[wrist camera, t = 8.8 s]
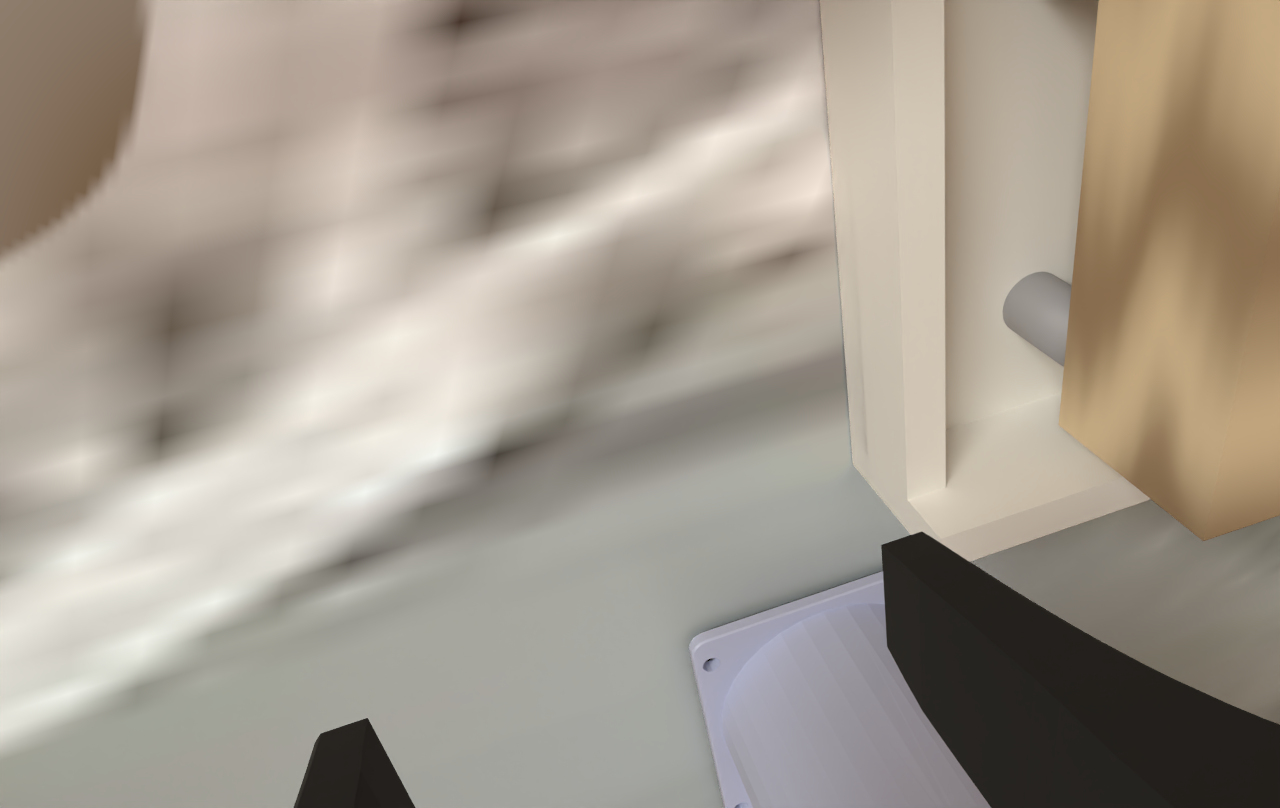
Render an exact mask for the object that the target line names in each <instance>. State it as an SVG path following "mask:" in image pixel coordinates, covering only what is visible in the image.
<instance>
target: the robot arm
mask: <svg viewBox="0 0 1280 808" xmlns="http://www.w3.org/2000/svg"><path fill="white" fill-rule="evenodd" d="M882 563H883V571H881V572H878V573H875V574H873V575H870V576H867V577H864V578H861V579H858V580H855V581H852V582H849V583H846V584H843V585H840V586H837V587H834V588H831V589H828V590H826V591H823V592H820V593H817V594H814V595H811V596H808V597H805V598H802V599H799V600H796V601H793V602H790V603H787V604H784V605H781V606H779V607H776V608H773V609H770V610H767V611H764V612H761V613H758V614H755V615H752V616H749V617H746V618H743V619H740V620H737V621H734V622H732V623H729V624H726V625H723V626H720V627H717V628H714V629H711V630H708V631H705V632H702V633H700V634H698V635H697V636H695V637H694V638H693V639H692V640H691V642H690V644H689V653H690V658H691V662H692V666H693V671H694V675H695V680H696V684H697V689H698V693H699V698H700V702H701V707H702V711H703V716H704V720H705V724H706V729H707V733H708V738H709V742H710V747H711V751H712V756H713V760H714V765H715V769H716V773H717V778H718V782H719V787H720V791H721V796H722V800H723V805H724V808H1280V725H1279V724H1276V723H1274V722H1271V721H1268V720H1266V719H1263V718H1261V717H1258V716H1256V715H1254V714H1251V713H1249V712H1246V711H1244V710H1241V709H1239V708H1237V707H1234V706H1232V705H1230V704H1227V703H1225V702H1223V701H1221V700H1218V699H1216V698H1214V697H1212V696H1210V695H1207V694H1205V693H1203V692H1201V691H1199V690H1196V689H1194V688H1192V687H1190V686H1188V685H1185V684H1183V683H1181V682H1179V681H1177V680H1175V679H1172V678H1170V677H1168V676H1166V675H1164V674H1162V673H1160V672H1158V671H1156V670H1154V669H1152V668H1150V667H1148V666H1146V665H1144V664H1142V663H1140V662H1138V661H1137V660H1135V659H1133V658H1131V657H1129V656H1127V655H1125V654H1123V653H1122V652H1120V651H1118V650H1116V649H1114V648H1112V647H1110V646H1108V645H1107V644H1105V643H1103V642H1101V641H1099V640H1097V639H1096V638H1094V637H1092V636H1090V635H1089V634H1087V633H1085V632H1083V631H1081V630H1080V629H1078V628H1076V627H1074V626H1073V625H1071V624H1069V623H1068V622H1066V621H1064V620H1063V619H1061V618H1059V617H1058V616H1056V615H1054V614H1052V613H1051V612H1049V611H1047V610H1046V609H1044V608H1042V607H1041V606H1039V605H1037V604H1036V603H1034V602H1032V601H1031V600H1029V599H1027V598H1026V597H1024V596H1022V595H1021V594H1019V593H1018V592H1016V591H1014V590H1013V589H1011V588H1010V587H1008V586H1006V585H1005V584H1003V583H1002V582H1000V581H999V580H997V579H995V578H994V577H992V576H991V575H989V574H988V573H986V572H984V571H983V570H981V569H980V568H978V567H977V566H975V565H974V564H972V563H971V562H969V561H967V560H966V559H964V558H963V557H961V556H960V555H958V554H957V553H955V552H954V551H952V550H951V549H949V548H948V547H946V546H945V545H943V544H941V543H940V542H938V541H937V540H935V539H934V538H932V537H931V536H929V535H927V534H925V533H924V532H919V533H916V534H913V535H910V536H907V537H904V538H901V539H898V540H895V541H892V542H889V543H886V544H883V545H882ZM711 658H713V659H711ZM709 659H711V660H710V661H707V660H709ZM294 808H415V806H414V804H413V803H412V801H411V799H410V797H409V795H408V793H407V791H406V789H405V787H404V786H403V784H402V782H401V780H400V778H399V776H398V774H397V772H396V771H395V769H394V767H393V765H392V763H391V761H390V759H389V757H388V756H387V754H386V752H385V750H384V748H383V746H382V744H381V742H380V741H379V739H378V737H377V735H376V733H375V731H374V729H373V727H372V725H371V724H370V722H369V720H368V718H366V719H363V720H360V721H357V722H354V723H351V724H348V725H345V726H342V727H339V728H336V729H333V730H330V731H327V732H324V733H321V734H320V736H319V737H318V739H317V740H316V742H315V745H314V748H313V751H312V754H311V757H310V760H309V764H308V767H307V770H306V773H305V776H304V779H303V782H302V785H301V788H300V791H299V794H298V797H297V800H296V803H295V805H294Z"/></svg>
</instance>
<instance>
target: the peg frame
mask: <svg viewBox="0 0 1280 808" xmlns="http://www.w3.org/2000/svg"><path fill="white" fill-rule="evenodd" d="M819 1H820V15H821V29H822V43H823V56H824V70H825V84H826V98H827V112H828V126H829V140H830V154H831V168H832V182H833V196H834V210H835V224H836V237H837V251H838V265H839V279H840V293H841V307H842V321H843V335H844V349H845V363H846V377H847V391H848V405H849V418H850V432H851V446H852V460H853V465H854V467H855V468H856V469H857V470H858V471H859V473H860V474H861V475H862V476H863V477H864V479H865V480H866V481H867V482H868V483H869V485H870V486H871V487H872V488H873V490H874V491H875V492H876V493H877V494H878V496H879V497H880V498H881V499H882V500H883V502H884V503H885V504H886V505H887V507H888V508H889V509H890V510H891V511H892V513H893V514H894V515H895V516H896V517H897V519H898V520H899V521H900V522H901V523H902V525H903V526H904V527H905V528H906V530H907V531H908V532H909V533H910V534H911V535H913V534H916V533H919V532H924V533H925V534H927V535H929V536H931V537H932V538H934V539H935V540H937V541H938V542H940V543H941V544H943V545H945V546H946V547H948V548H949V549H951V550H952V551H954V552H955V553H957V554H958V555H960V556H961V557H963V558H964V559H966V560H967V561H969V562H970V561H973V560H976V559H979V558H981V557H984V556H987V555H990V554H993V553H996V552H999V551H1002V550H1005V549H1008V548H1011V547H1014V546H1016V545H1019V544H1022V543H1025V542H1028V541H1031V540H1034V539H1037V538H1040V537H1043V536H1046V535H1048V534H1051V533H1054V532H1057V531H1060V530H1063V529H1066V528H1069V527H1072V526H1075V525H1078V524H1081V523H1083V522H1086V521H1089V520H1092V519H1095V518H1098V517H1101V516H1104V515H1107V514H1110V513H1113V512H1115V511H1118V510H1121V509H1124V508H1127V507H1130V506H1133V505H1136V504H1139V503H1142V502H1145V501H1148V500H1150V498H1149V497H1148V496H1146V495H1145V494H1144V493H1143V492H1141V491H1140V490H1139V489H1138V488H1136V487H1135V486H1134V485H1133V484H1131V483H1130V482H1129V481H1128V480H1126V479H1125V478H1124V477H1123V476H1121V475H1120V474H1119V473H1118V472H1116V471H1115V470H1114V469H1113V468H1111V467H1110V466H1109V465H1108V464H1106V463H1105V462H1104V461H1103V460H1101V459H1100V458H1099V457H1098V456H1097V455H1095V454H1094V453H1093V452H1092V451H1090V450H1089V449H1088V448H1087V447H1085V446H1084V445H1083V444H1082V443H1080V442H1079V441H1078V440H1077V439H1075V438H1074V437H1073V436H1072V435H1070V434H1069V433H1068V432H1067V431H1065V430H1064V429H1063V428H1062V427H1060V426H1059V414H1060V404H1061V393H1062V383H1063V372H1064V362H1065V351H1066V340H1067V330H1068V319H1069V309H1070V298H1071V288H1072V277H1073V266H1074V256H1075V245H1076V235H1077V224H1078V214H1079V203H1080V192H1081V182H1082V171H1083V161H1084V150H1085V140H1086V129H1087V118H1088V108H1089V97H1090V87H1091V76H1092V66H1093V55H1094V44H1095V34H1096V23H1097V13H1098V2H1099V0H819Z"/></svg>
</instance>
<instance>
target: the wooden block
mask: <svg viewBox="0 0 1280 808" xmlns="http://www.w3.org/2000/svg"><path fill="white" fill-rule="evenodd" d="M1059 426H1060V427H1062V428H1063V429H1064V430H1065V431H1067V432H1068V433H1069V434H1070V435H1072V436H1073V437H1074V438H1075V439H1077V440H1078V441H1079V442H1080V443H1082V444H1083V445H1084V446H1085V447H1087V448H1088V449H1089V450H1090V451H1092V452H1093V453H1094V454H1095V455H1097V456H1098V457H1099V458H1100V459H1101V460H1103V461H1104V462H1105V463H1106V464H1108V465H1109V466H1110V467H1111V468H1113V469H1114V470H1115V471H1116V472H1118V473H1119V474H1120V475H1121V476H1123V477H1124V478H1125V479H1126V480H1128V481H1129V482H1130V483H1131V484H1133V485H1134V486H1135V487H1136V488H1138V489H1139V490H1140V491H1141V492H1143V493H1144V494H1145V495H1146V496H1148V497H1149V498H1150V499H1151V500H1153V501H1154V502H1155V503H1156V504H1158V505H1159V506H1160V507H1161V508H1163V509H1164V510H1165V511H1166V512H1168V513H1169V514H1170V515H1171V516H1173V517H1174V518H1175V519H1176V520H1178V521H1179V522H1180V523H1181V524H1183V525H1184V526H1185V527H1186V528H1188V529H1189V530H1190V531H1191V532H1193V533H1194V534H1195V535H1196V536H1198V537H1199V538H1200V539H1201V540H1203V541H1205V540H1208V539H1211V538H1214V537H1217V536H1220V535H1223V534H1226V533H1229V532H1232V531H1235V530H1238V529H1241V528H1244V527H1247V526H1249V525H1252V524H1255V523H1258V522H1261V521H1264V520H1267V519H1270V518H1273V517H1276V516H1279V515H1280V0H1099V2H1098V13H1097V23H1096V34H1095V44H1094V55H1093V66H1092V76H1091V87H1090V97H1089V108H1088V118H1087V129H1086V140H1085V150H1084V161H1083V171H1082V182H1081V192H1080V203H1079V214H1078V224H1077V235H1076V245H1075V256H1074V266H1073V277H1072V288H1071V298H1070V309H1069V319H1068V330H1067V340H1066V351H1065V362H1064V372H1063V383H1062V393H1061V404H1060V414H1059Z"/></svg>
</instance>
